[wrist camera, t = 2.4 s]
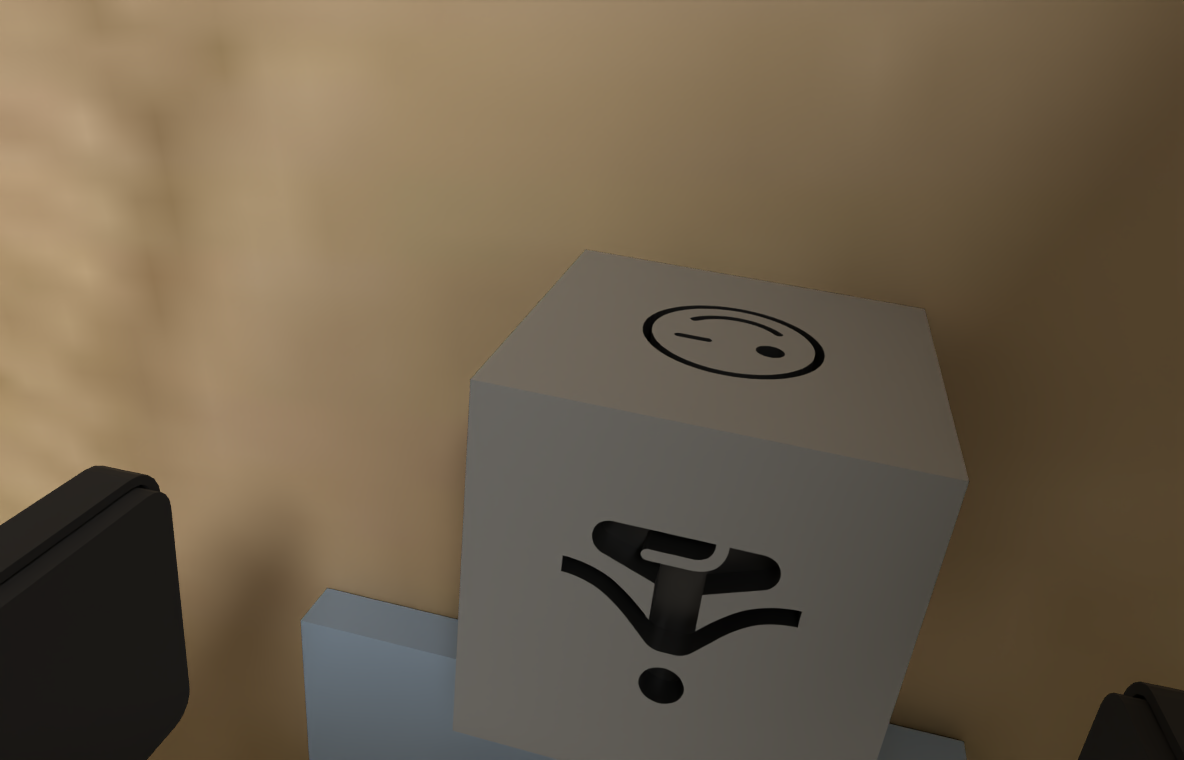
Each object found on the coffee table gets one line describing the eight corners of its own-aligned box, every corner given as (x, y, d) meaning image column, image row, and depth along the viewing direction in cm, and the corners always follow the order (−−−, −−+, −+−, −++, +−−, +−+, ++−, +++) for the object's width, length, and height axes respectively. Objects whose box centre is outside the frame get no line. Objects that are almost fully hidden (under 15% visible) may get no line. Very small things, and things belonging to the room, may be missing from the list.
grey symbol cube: (924, 307, 13) (969, 481, 9) (846, 586, 15) (849, 840, 11) (586, 248, 14) (469, 379, 10) (558, 520, 16) (453, 730, 12)
